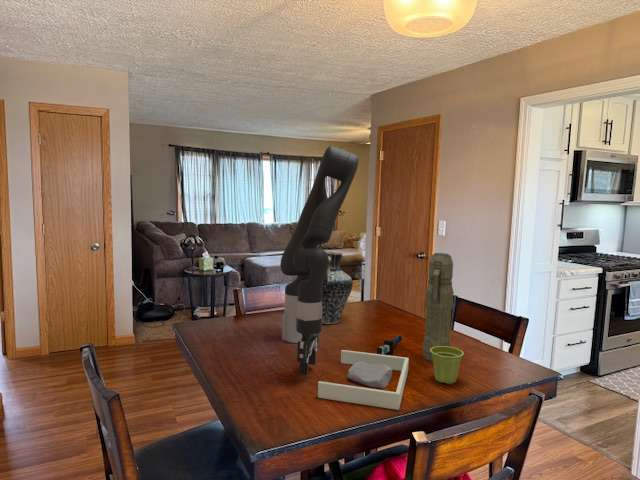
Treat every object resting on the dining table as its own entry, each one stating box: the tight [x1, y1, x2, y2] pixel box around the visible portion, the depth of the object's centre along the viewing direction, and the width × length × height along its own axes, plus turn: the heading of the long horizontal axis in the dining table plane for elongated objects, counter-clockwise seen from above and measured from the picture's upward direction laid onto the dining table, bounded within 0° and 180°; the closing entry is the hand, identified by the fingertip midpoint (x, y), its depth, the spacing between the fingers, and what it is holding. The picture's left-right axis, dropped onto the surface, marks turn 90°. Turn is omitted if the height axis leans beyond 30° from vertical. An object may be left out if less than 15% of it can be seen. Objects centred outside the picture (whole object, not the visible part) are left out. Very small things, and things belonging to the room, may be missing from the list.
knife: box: [376, 334, 403, 355], centre depth 153 cm, size 31×3×4 cm, turn 152°
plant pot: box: [430, 346, 465, 385], centre depth 128 cm, size 9×9×9 cm
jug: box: [322, 250, 354, 325], centre depth 186 cm, size 21×19×30 cm
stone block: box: [347, 361, 393, 389], centre depth 128 cm, size 12×5×10 cm
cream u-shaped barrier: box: [317, 349, 410, 411], centre depth 125 cm, size 21×27×4 cm
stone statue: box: [422, 252, 454, 363], centre depth 145 cm, size 9×12×35 cm
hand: (307, 369), depth 130 cm, fingers open, 8 cm apart
